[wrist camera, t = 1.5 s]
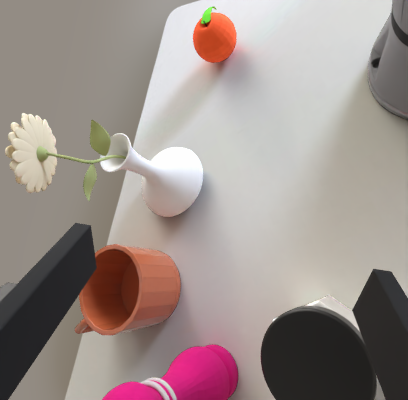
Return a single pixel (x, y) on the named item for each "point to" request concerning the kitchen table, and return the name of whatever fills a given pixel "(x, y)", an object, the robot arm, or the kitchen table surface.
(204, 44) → the clementine
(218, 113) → the kitchen table surface
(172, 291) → the terracotta coffee mug
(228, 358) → the pepper mill
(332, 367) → the jar
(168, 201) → the flower in vase
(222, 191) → the kitchen table surface
